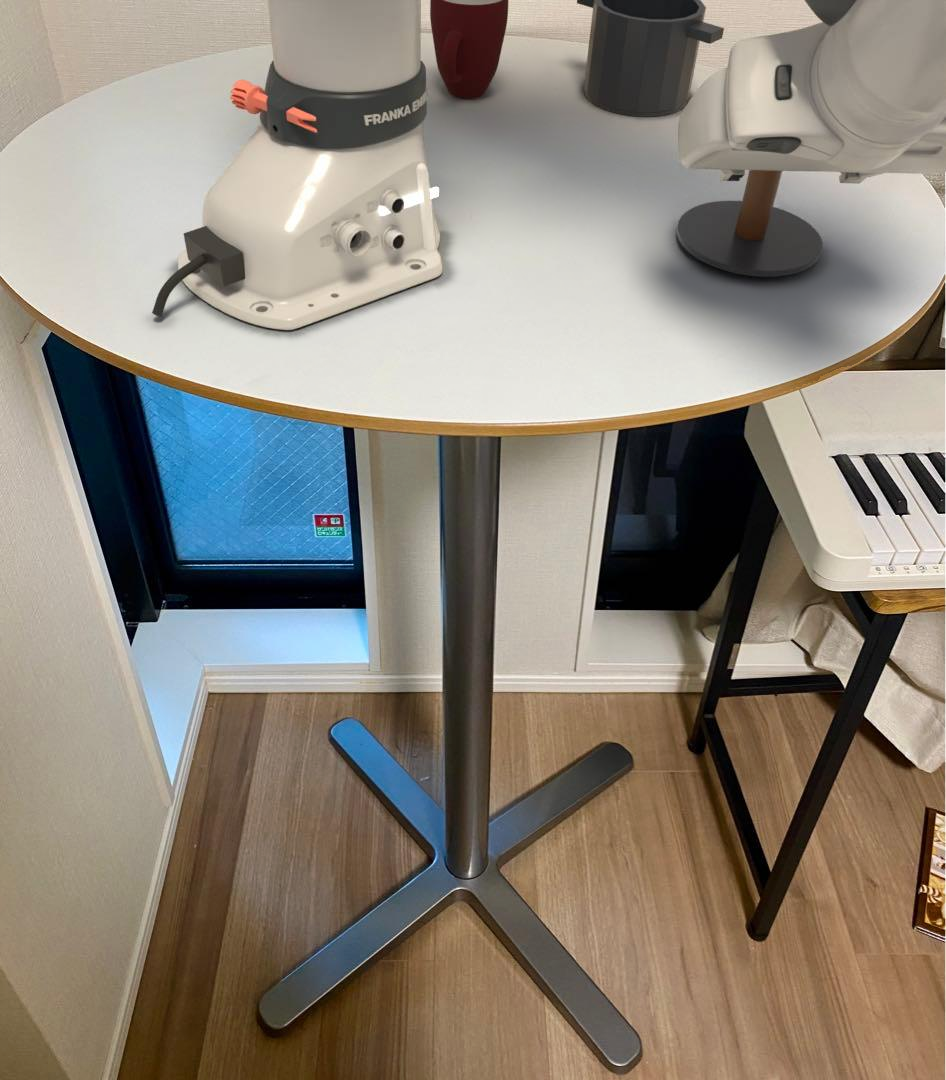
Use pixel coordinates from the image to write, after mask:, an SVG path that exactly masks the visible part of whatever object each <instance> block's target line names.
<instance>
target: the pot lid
mask: <svg viewBox="0 0 946 1080" xmlns="http://www.w3.org/2000/svg"><path fill="white" fill-rule="evenodd" d="M782 175H783V171H766V170H748V175H747V178H746V183H745V186H744V192H743V196H742V198H741V199H742V200H717V201H711V202H710V201H709V202H706V203H701V204H699V205H695V206H694V207H692V208H689V209H688V210H687V211H685V212H684V213H683V214H682V215H681V216H680V218H679V220H678V223H677V227H676V236H677V239H678V241H679V243H680V245H681V246H682V247H683V248H684V250H686V252H688V253H689V254H690V255H691V256H693V257H694V258H695V259H697V260H699V261H701V262H703V263H705V264H707V265H709V266H712V267H714V268H717V269H719V270H721V271H722V270H723V271H726V272H729V273H733V274H737V275H742V276H751V277H761V278H762V277H765V278H766V277H767V278H770V277H784V276H785V277H786V276H789V275H795V274H798V273H801V272H804V271H806V270H808V269H809V268H811V267H813V266H814V265H815V264H816V263H817V262H818V261H819V259H820V257H821V254H822V252H823V239H822V237H821V235H820V234H819V232H818V230H817V229H816V228H815V227H813V225H812V224H810V223H809V222H807V221H806V220H805V219H803V218H801V217H799V216H797V215H796V214H794V213H792V212H789V211H787V210H784V209H782V208H780V207H776V206H774V204H775V200H776V196H777V194H778V193H777V192H778V189H779V185H780V181H781V178H782Z"/></svg>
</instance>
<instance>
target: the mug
mask: <svg viewBox="0 0 946 1080" xmlns="http://www.w3.org/2000/svg"><path fill="white" fill-rule="evenodd" d="M429 1H430V3H429V9H430V10H429V18H430V27H431V34H432V40H433V48H434V55H435V60H436V66H437V70H438V72H439V76H440V77H441V80H442V82H443V83H444V86H445V88H446V90H447V92H448V93H449V94H450V95H451V96H453V97H455V98H458V99H464V100H472V99H477V98H481V97H482V96H484V94H486V92H487V90H488V88H489V87H490V84H491V83H492V81H493V79H494V77H495V76H496V73H497V70H498V67H499V64H500V59H501V53H502V49H503V45H504V40H505V35H506V31H507V26H508V20H509V19H508V18H509V0H429Z"/></svg>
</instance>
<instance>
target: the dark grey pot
mask: <svg viewBox="0 0 946 1080" xmlns="http://www.w3.org/2000/svg"><path fill="white" fill-rule="evenodd" d="M576 4H578V5H582V6H584V7H588V8H590V9H592V13H591V21H590V30H589V31H590V32H589V39H588V50H587V57H586V58H587V59H586V68H585V73H584V75H585V76H584V85H583V88H584V96H585V97H586V99H587V100H588V101H589V102H590V103H592V104H593V105H594V106H596V107H598V108H600V109H603V110H605V111H608V112H612V113H614V114H618V115H623V116H629V117H642V118H643V117H645V118H646V117H647V118H648V117H662V116H667V115H672V114H676V113H677V112H679V111H681V110H684V108H685V107H686V105H687V104H688V102H689V97H690V94H691V89H692V83H693V79H694V74H695V68H696V62H697V57H698V53H699V46H700V42H703V43H705V44H709V45H711V44H714V43H715V42H717V41H719V40H721V39H723V36H724V31H725V28H724V27H721V26H719V25H716V24H715V25H714V24H711V23H708V22H705V21H704V20H705V15H706V9H707V7H706V6H705V4H704V3H703V1H702V0H576Z"/></svg>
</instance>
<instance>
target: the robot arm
mask: <svg viewBox="0 0 946 1080" xmlns="http://www.w3.org/2000/svg"><path fill="white" fill-rule="evenodd" d="M804 2H805V3H806V4H807V6H808V7H809V8H810V10H811V11H812V13H813V14H814V15H815V16H816V17H817V18H818V19H819V20H820V21H821V22H819V23H816V24H813V25H809V26H806V27H802V28H798V29H794V30H790V31H784V32H779V33H774V34H767V35H760V36H753V37H747V38H743V39H741V40H738V41H737V42H735V43H734V44H733V46H732V47H731V49H730V51H729V56H728V64H727V67H724V68H721V69H719V70H717V71H716V72H714V73H713V74H711V75H710V76H709V77H708V78H707V79H706V80H704V81H703V83H702V84H701V85H700V86H699V88H698V89H696V91H695V93H693V95H692V96H691V98H690V99H689V100H688V102H687V104H686V106H685V107H684V108H683V109H682V112H681V113H680V116H679V119H678V120H679V121H678V128H677V157H678V161H679V163H680V164H681V166H683V167H685V168H687V169H689V170H718V172H719V173H718V178H719V181H720V182H739V181H741V179H743V177H744V176H745V174H746V171H749V170H766V171H782V172H816V173H817V172H818V173H823V172H824V173H840V175H839V177H838V181H839V183H840V184H852V185H853V184H854V185H859V184H862V182H863V181H865V180H866V179H867V178H871V177H876V176H879V175H883V174H905V175H907V174H908V175H909V174H910V175H911V174H912V175H935V174H936V175H937V174H941V173H945V172H946V0H804ZM267 10H268V18H269V30H270V37H271V40H270V41H271V48H272V59H273V60H272V61H271V63H270V64H269V67H268V72H267V76H266V80H265V81H266V82H265V85H264V88H263V87H261V86H260V85H254V84H253V83H251V82H250V81H248V80H246V79H238V80H237V81H235V82H234V83H233V84H232V89H231V90H230V94H231V95H230V100H231V103H232V105H234V107H236V108H238V109H240V110H244V111H247V112H248V113H249V114H251V115H258V114H259V121H260V123H259V125H258V126H257V128H256V129H255V130H254V132H253V133H252V134H251V135H250V137H249V138H248V139H247V140H246V141H245V143H244V145H243V146H242V147H241V149H240V150H239V151H238V152H237V154H236V155H235V157H234V158H233V159H232V160H231V162H230V163H229V164H228V165H227V167H226V168H225V170H224V171H222V174H221V175H220V176H219V177H218V179H216V180H215V183H214V184H212V186H210V188H209V189H208V191H207V193H206V195H205V197H204V201H203V206H202V215H201V216H202V218H201V219H202V221H201V224H202V225H201V227H199V228H195V229H192V230H190V231H186V232H184V233H183V238H184V244H185V250H184V251H183V252H182V253H180V254H179V255H178V256H177V270H176V271H175V272H174V273H173V274H172V275H171V276H170V277H169V278H168V279H167V280H166V281H165V282H164V284H163V285H162V287H161V288H160V291H159V292H158V293H157V296H156V299H155V302H154V305H153V309H152V312H151V313H152V315H154V316H157V317H160V318H162V316H163V313H164V310H165V307H166V304H167V302H168V299H169V296H170V294H171V293H172V292H173V290H174V289H175V288H176V287H177V286H178V285H179V284H180V283H181V282H182V283H183V284H184V285H185V286H186V287H187V289H189V290H190V291H191V292H192V293H193V294H195V295H196V296H197V297H198V298H200V299H201V300H202V301H204V302H206V303H207V304H209V305H210V306H211V307H213V308H216V309H218V310H219V311H221V312H223V313H224V314H226V315H228V316H230V317H233V318H236V319H238V320H240V321H243V322H246V323H249V324H252V325H255V326H259V327H262V328H268V329H275V330H284V331H292V330H296V329H298V328H302V327H305V326H308V325H311V324H313V323H316V322H319V321H321V320H324V319H327V318H330V317H333V316H335V315H338V314H341V313H344V312H346V311H349V310H351V309H354V308H357V307H360V306H363V305H366V304H368V303H371V302H373V301H376V300H379V299H382V298H384V297H387V296H389V295H392V294H395V293H398V292H400V291H401V292H402V291H404V290H406V289H408V288H412V287H414V286H417V285H420V284H423V283H425V282H428V281H431V280H433V279H436V278H439V277H440V276H441V275H442V274H443V263H442V257H441V254H440V251H439V250H438V248H439V246H440V242H441V233H440V229H439V226H438V224H437V219H436V216H435V212H434V208H433V202H432V199H434V198H438V197H439V195H440V194H439V193H440V188H439V187H438V186H434V187H431V183H430V174H429V167H428V161H427V160H428V159H427V154H426V148H425V142H424V134H423V133H424V132H423V122H424V120H425V119H426V117H427V112H428V111H427V110H428V108H427V107H428V102H427V101H428V97H429V93H428V92H429V91H428V87H427V67H426V65H425V63H424V62H423V60H422V59H421V58H422V57H421V56H422V55H421V52H422V51H421V49H422V47H421V46H422V45H421V43H422V42H421V40H422V39H421V37H422V0H267Z"/></svg>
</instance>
